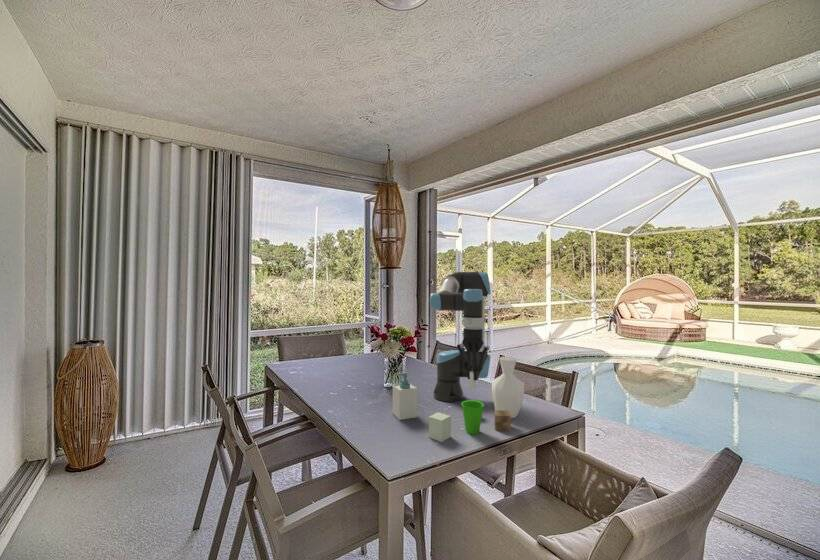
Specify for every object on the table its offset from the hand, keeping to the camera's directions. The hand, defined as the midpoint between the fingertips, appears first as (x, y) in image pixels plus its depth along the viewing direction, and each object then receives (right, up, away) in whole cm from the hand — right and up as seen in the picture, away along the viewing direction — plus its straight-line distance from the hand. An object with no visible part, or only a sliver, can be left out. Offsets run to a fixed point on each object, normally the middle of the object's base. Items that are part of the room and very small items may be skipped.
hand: (472, 387), depth 144 cm
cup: (0, -18, 0) cm, 18 cm away
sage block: (-13, -18, -5) cm, 22 cm away
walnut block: (+13, -18, +4) cm, 22 cm away
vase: (+19, -18, +18) cm, 32 cm away
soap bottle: (-27, -18, +18) cm, 37 cm away
